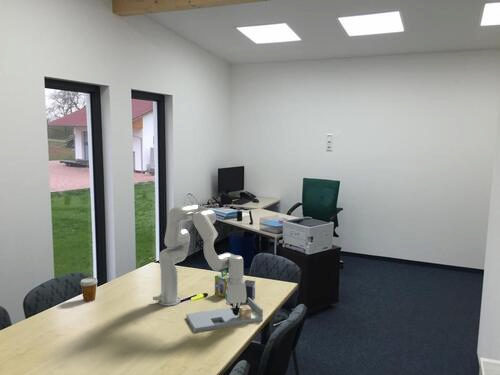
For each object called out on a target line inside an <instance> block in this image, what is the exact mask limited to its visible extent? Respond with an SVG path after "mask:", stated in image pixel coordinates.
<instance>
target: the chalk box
mask: <svg viewBox="0 0 500 375" xmlns="http://www.w3.org/2000/svg"><path fill="white" fill-rule="evenodd" d="M228 277H229V273H228V271H227V269H223V270H220V274H217V275H215V276H214V295H215V296H218V297H222V298H225V299H226V288H227V283H228V281H227V282H226V279H228Z"/></svg>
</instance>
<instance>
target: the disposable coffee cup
mask: <svg viewBox="0 0 500 375" xmlns="http://www.w3.org/2000/svg"><path fill="white" fill-rule="evenodd" d="M98 281H99V280H98V279H97V278H96V277H86V278H82V279H81V280H80V282H79V284H80V287H81V292H82V297H83V302H85V301H86V302H85V303H90V301H91V302H94V301H95V300H96V295H97V287H98V286H97V284H98Z"/></svg>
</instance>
